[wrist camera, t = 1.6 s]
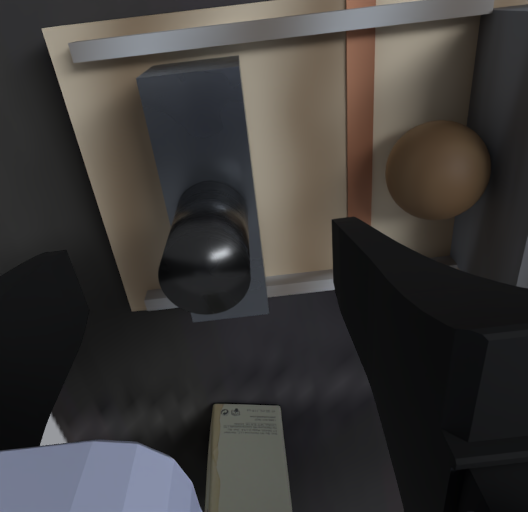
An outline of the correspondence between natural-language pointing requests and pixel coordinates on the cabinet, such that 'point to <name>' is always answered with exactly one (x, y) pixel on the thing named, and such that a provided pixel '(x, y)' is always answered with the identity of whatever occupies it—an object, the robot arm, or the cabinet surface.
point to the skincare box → (247, 460)
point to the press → (323, 129)
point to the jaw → (206, 188)
